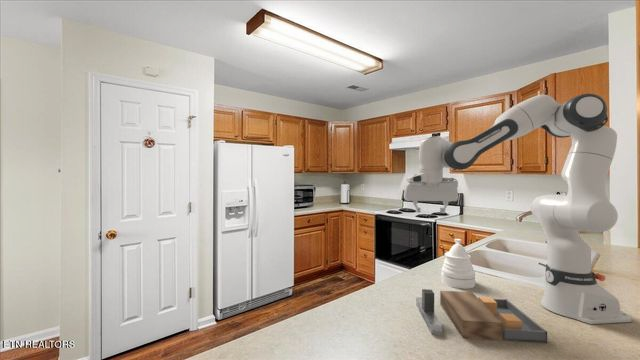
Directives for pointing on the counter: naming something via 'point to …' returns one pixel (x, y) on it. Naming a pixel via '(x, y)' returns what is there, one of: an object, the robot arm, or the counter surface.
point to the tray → (529, 327)
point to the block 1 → (489, 304)
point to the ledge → (471, 316)
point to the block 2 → (510, 321)
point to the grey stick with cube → (429, 311)
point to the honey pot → (458, 268)
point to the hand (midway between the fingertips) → (430, 212)
